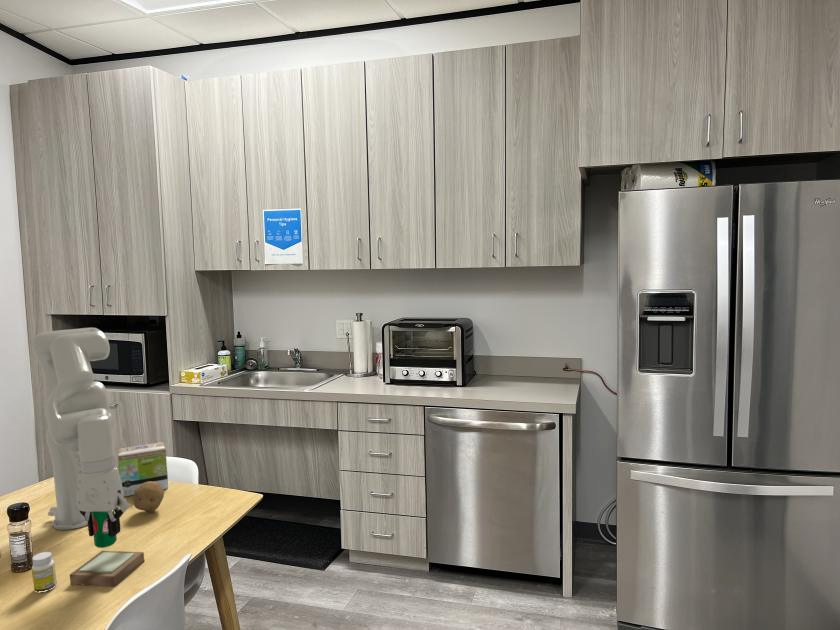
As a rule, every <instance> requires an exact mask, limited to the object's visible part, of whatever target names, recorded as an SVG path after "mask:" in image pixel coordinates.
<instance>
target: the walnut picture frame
mask: <svg viewBox="0 0 840 630" xmlns="http://www.w3.org/2000/svg"><path fill="white" fill-rule="evenodd" d="M144 562H145V553H144V551H123V550H122V551H121V550H119V551H118V550H101V551H100V552H99V553H97V554H96V555H94V556H93V557H92V558H90V559H89V560H87V561H86V562H84V563H83V564H82V565H81V566H79V567H78V568H77V569H75V570H74V571H72V572H71V573H70V574H69V581H70V585H71V584H84V585H83V586H90V585H97V586H96V587H113V588H114V587H117V586H118V585H119V584H120V583H121V582H122V581H123V580H125V579H126V578H127V577H128V576H130V575H131V573H133V572H134V571H136V570H137V568H139V567H140V566H141V565H142V564H143V563H144Z"/></svg>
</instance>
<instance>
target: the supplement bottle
mask: <svg viewBox="0 0 840 630" xmlns="http://www.w3.org/2000/svg"><path fill="white" fill-rule="evenodd" d="M55 567H56V563H55V560H53V555H52V552H50V551H43V552H39V553H37V554H35V555H33V556H32V567H31V573H32V575H31V576H32V582H33V591H34V590H35V591H37V592H39V591H45V590H49V589H51V588H53V587H54V586H56V587H57V585H58V582H57V574H56V573H57V572H56V568H55ZM56 584H57V585H56ZM35 591H34V592H35Z"/></svg>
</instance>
